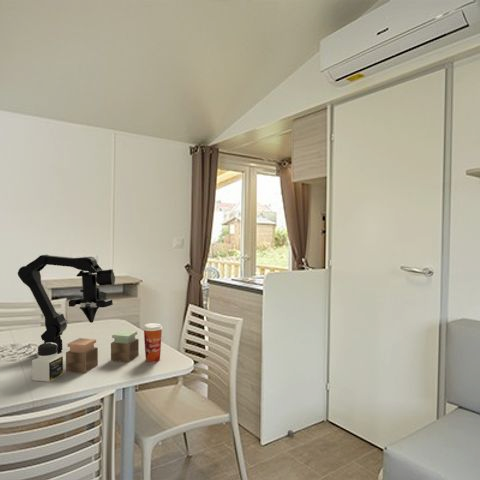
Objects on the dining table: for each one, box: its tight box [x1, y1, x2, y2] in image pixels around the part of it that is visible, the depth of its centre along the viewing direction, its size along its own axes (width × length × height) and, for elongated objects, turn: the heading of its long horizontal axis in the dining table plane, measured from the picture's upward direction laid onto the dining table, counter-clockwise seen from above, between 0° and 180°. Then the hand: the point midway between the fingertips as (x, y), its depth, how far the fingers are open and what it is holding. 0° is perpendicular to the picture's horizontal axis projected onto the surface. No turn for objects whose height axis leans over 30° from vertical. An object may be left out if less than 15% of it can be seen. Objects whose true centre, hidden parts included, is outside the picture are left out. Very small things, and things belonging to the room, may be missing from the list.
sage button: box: [111, 329, 138, 344], centre depth 155 cm, size 7×7×7 cm
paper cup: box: [142, 322, 164, 363], centre depth 154 cm, size 8×8×14 cm
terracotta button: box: [67, 337, 97, 353], centre depth 144 cm, size 7×7×7 cm
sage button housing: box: [110, 338, 140, 363], centre depth 156 cm, size 8×8×7 cm
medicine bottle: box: [31, 342, 64, 383], centre depth 135 cm, size 7×7×12 cm
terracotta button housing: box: [65, 346, 99, 374], centre depth 144 cm, size 8×8×7 cm
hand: (91, 322), depth 163 cm, fingers closed
